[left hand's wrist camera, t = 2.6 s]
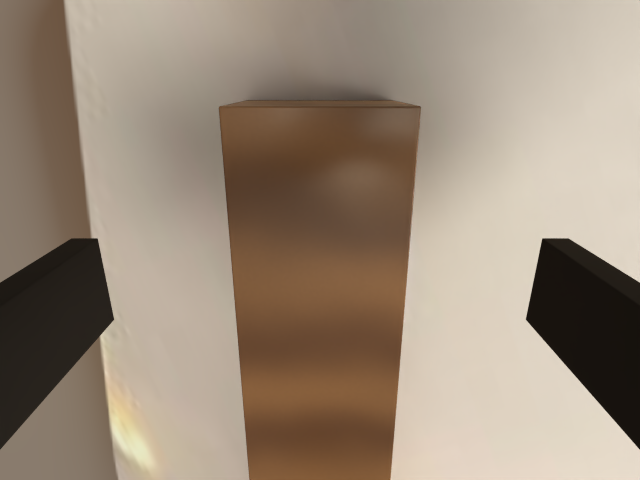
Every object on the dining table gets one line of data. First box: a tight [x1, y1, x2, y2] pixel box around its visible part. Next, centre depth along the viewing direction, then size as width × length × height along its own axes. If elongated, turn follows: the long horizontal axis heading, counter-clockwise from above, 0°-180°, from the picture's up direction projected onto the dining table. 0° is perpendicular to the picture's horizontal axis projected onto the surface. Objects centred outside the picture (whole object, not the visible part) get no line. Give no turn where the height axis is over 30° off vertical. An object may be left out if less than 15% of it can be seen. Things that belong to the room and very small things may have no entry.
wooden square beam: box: [219, 100, 421, 480], centre depth 31 cm, size 53×9×8 cm, turn 0°
